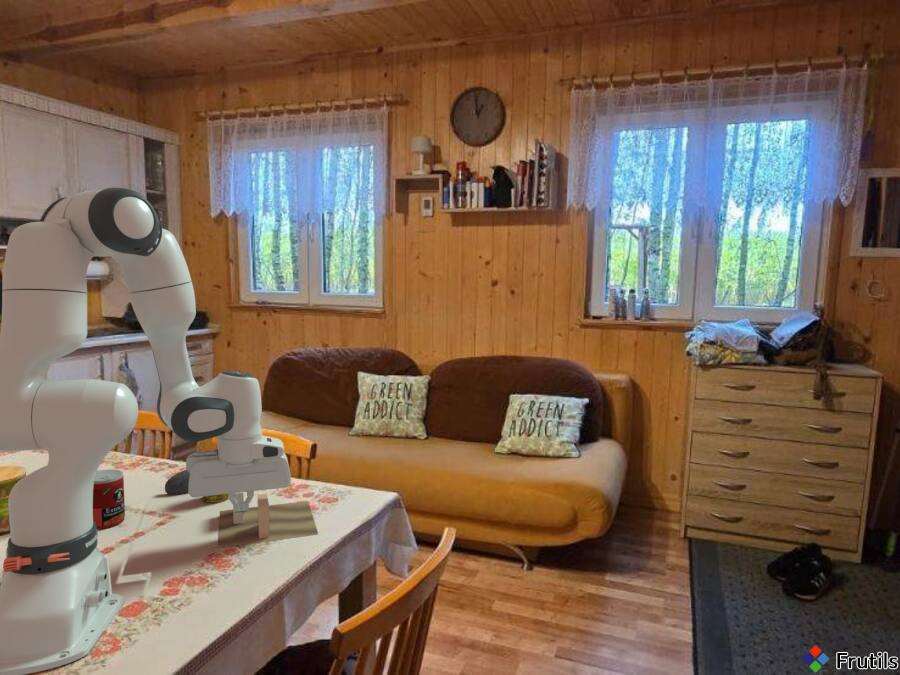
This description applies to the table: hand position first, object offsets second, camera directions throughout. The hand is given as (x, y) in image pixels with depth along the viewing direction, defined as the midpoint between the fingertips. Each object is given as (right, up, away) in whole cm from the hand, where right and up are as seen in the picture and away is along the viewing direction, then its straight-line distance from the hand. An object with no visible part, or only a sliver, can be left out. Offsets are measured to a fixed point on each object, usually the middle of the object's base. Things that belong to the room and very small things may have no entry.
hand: (241, 511), depth 122 cm
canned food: (-33, -5, +7) cm, 34 cm away
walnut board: (+3, -6, +6) cm, 9 cm away
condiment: (-13, -4, +20) cm, 24 cm away
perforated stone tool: (-21, -3, +26) cm, 33 cm away
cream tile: (-4, -4, +8) cm, 10 cm away
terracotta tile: (+4, -5, +2) cm, 7 cm away
